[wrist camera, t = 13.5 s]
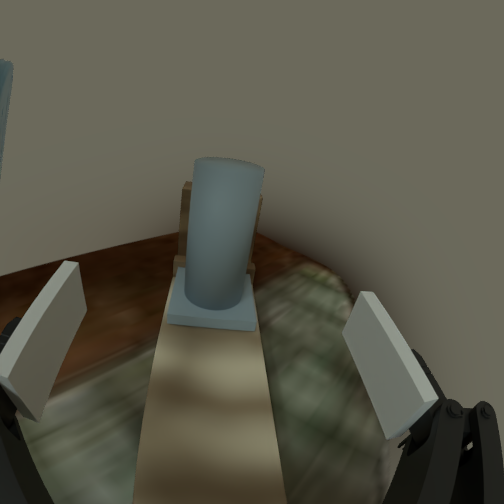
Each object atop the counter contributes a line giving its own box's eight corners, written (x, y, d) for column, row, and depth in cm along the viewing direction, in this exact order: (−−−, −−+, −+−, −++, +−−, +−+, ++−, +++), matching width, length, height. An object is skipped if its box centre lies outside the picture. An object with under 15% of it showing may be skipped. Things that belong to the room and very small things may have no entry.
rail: (280, 527, 10) (363, 486, 6) (138, 523, 9) (79, 480, 5) (245, 268, 36) (259, 190, 31) (180, 261, 35) (186, 181, 30)
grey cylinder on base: (254, 331, 23) (287, 183, 17) (167, 323, 22) (172, 168, 16) (248, 282, 29) (270, 162, 24) (177, 275, 28) (187, 151, 22)
